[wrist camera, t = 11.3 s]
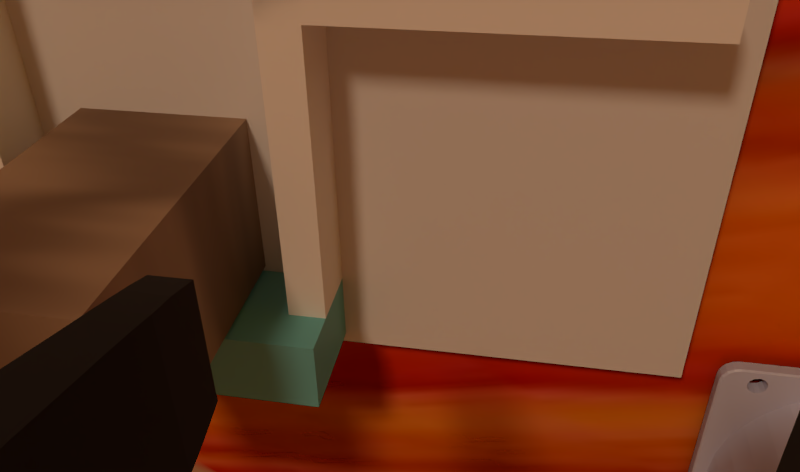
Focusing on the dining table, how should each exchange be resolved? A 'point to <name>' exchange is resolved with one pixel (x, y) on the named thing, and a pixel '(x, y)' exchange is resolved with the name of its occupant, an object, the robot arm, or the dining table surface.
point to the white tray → (433, 162)
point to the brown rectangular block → (126, 220)
